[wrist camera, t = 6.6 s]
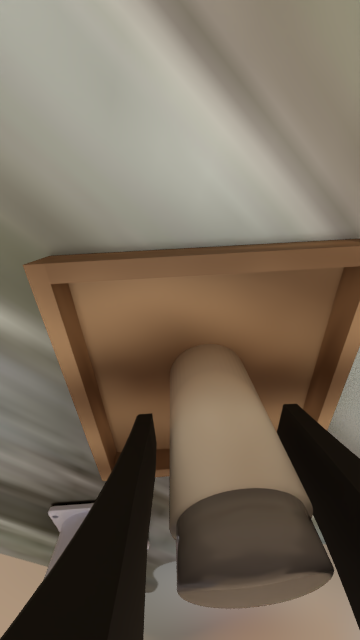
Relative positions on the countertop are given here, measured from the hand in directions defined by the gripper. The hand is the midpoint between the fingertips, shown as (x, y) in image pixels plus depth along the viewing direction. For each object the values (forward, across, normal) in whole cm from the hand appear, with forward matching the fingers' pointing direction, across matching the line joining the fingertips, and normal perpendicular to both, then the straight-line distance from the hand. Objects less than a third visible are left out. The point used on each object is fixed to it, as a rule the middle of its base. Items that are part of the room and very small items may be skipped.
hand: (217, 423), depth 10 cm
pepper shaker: (+3, 0, 0) cm, 3 cm away
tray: (+4, 0, 0) cm, 4 cm away
